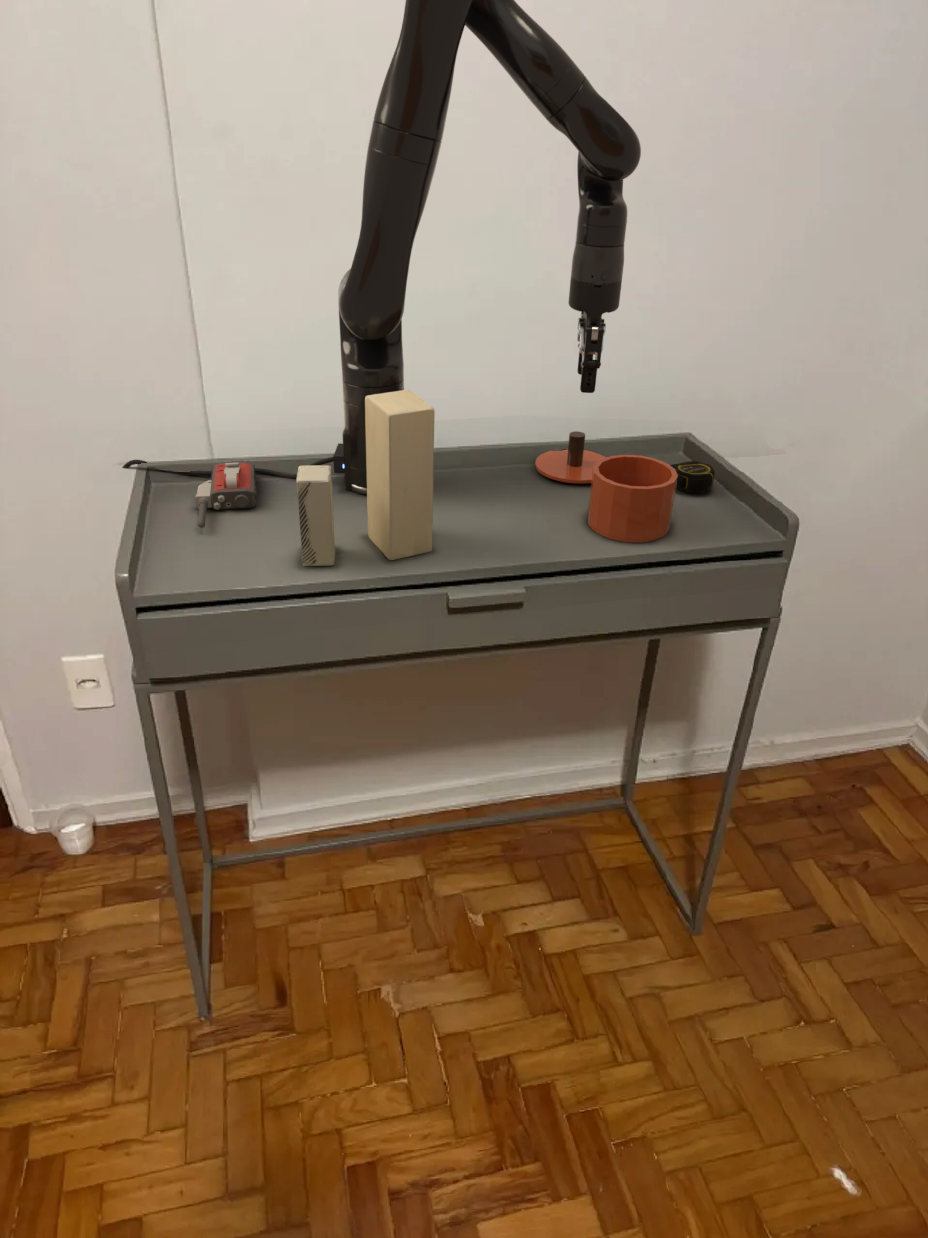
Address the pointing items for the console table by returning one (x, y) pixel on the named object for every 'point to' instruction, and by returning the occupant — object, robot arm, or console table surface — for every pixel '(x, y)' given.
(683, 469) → the tape measure
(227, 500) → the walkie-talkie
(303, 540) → the box
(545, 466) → the lid
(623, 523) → the pot
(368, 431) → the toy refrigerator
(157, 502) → the console table surface
